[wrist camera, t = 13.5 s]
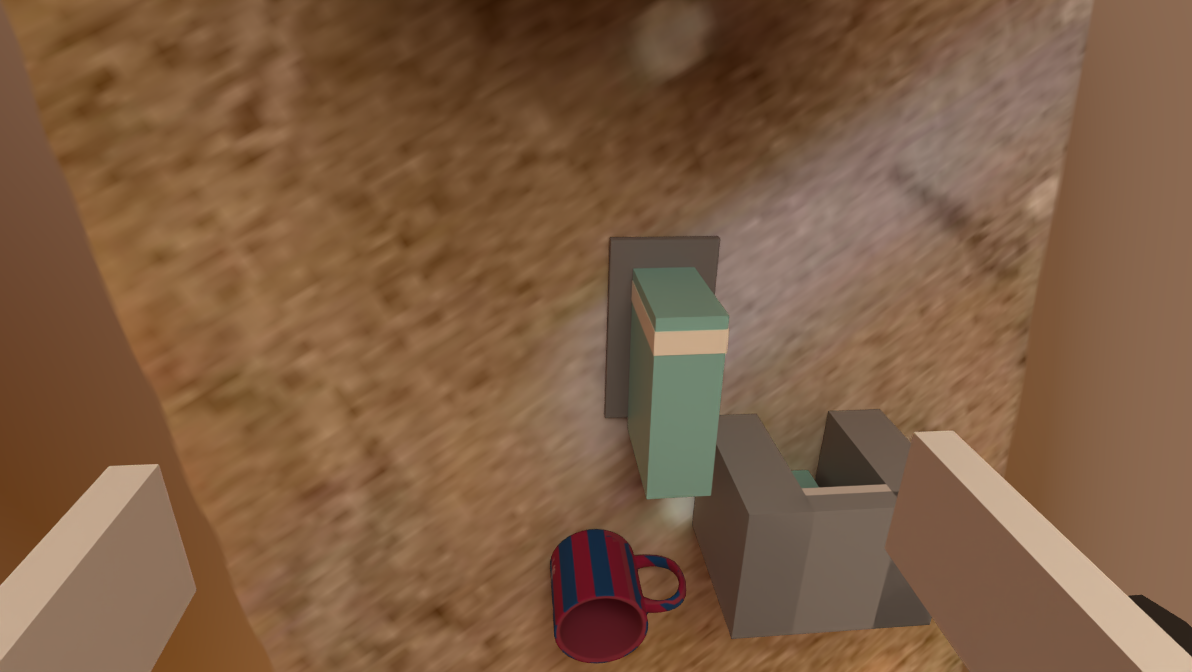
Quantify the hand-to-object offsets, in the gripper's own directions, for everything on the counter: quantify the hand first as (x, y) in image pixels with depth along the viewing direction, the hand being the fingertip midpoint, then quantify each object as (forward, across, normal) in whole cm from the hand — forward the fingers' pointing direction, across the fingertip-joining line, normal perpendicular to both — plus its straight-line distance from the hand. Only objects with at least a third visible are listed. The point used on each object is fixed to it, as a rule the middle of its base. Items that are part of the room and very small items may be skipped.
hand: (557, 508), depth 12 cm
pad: (+32, +8, -11) cm, 35 cm away
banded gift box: (+31, +8, -12) cm, 35 cm away
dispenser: (+32, +19, -23) cm, 43 cm away
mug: (+32, +6, -31) cm, 45 cm away
